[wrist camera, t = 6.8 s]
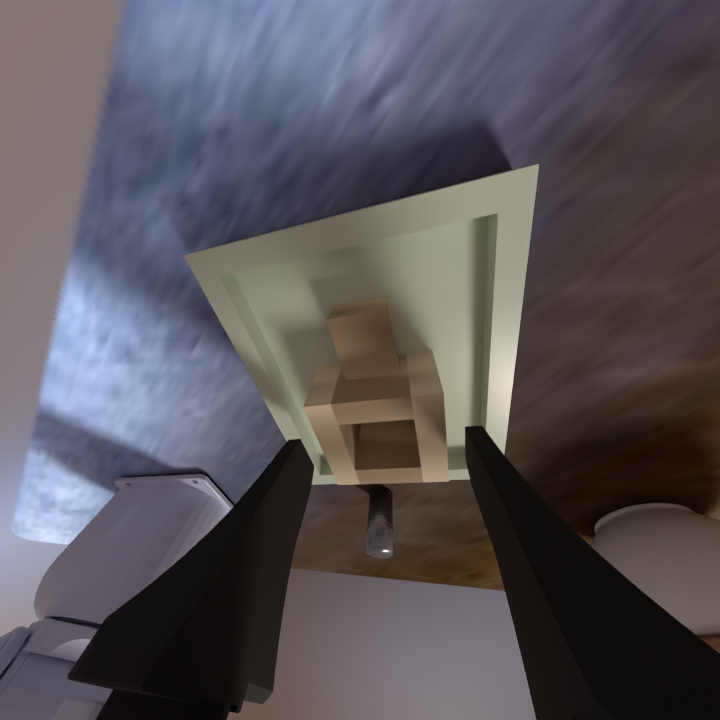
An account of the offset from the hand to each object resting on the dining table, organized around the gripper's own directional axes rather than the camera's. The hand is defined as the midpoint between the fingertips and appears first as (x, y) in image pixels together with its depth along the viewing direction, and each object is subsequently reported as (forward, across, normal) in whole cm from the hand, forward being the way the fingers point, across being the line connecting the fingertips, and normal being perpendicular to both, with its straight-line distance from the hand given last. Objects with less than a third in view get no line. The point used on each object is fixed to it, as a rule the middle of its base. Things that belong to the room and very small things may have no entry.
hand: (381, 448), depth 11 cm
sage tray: (+4, 0, -2) cm, 4 cm away
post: (+4, +2, +10) cm, 11 cm away
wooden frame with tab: (+3, 0, -1) cm, 3 cm away
